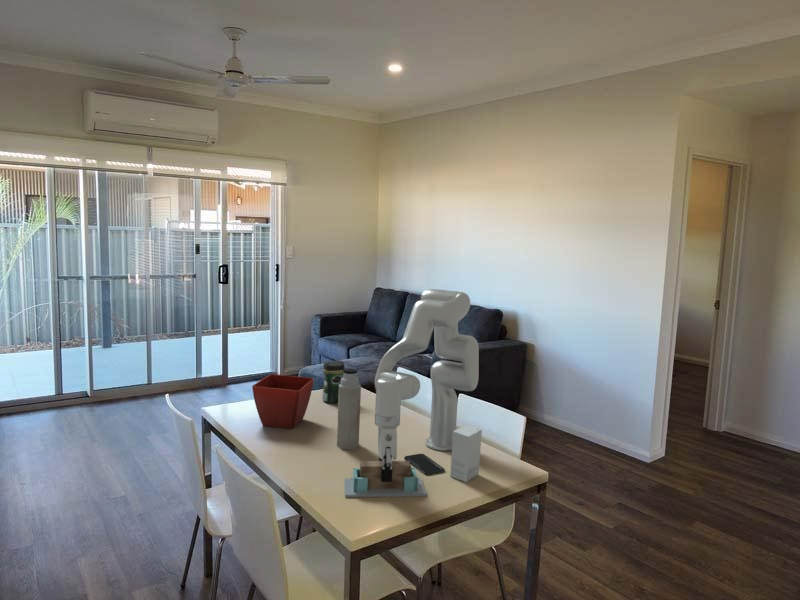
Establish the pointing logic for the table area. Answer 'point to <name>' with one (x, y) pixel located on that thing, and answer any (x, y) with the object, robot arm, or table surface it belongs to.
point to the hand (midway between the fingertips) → (384, 475)
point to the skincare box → (465, 453)
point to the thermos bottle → (349, 410)
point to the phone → (424, 464)
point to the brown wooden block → (374, 474)
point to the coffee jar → (332, 380)
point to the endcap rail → (359, 489)
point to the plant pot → (282, 399)
